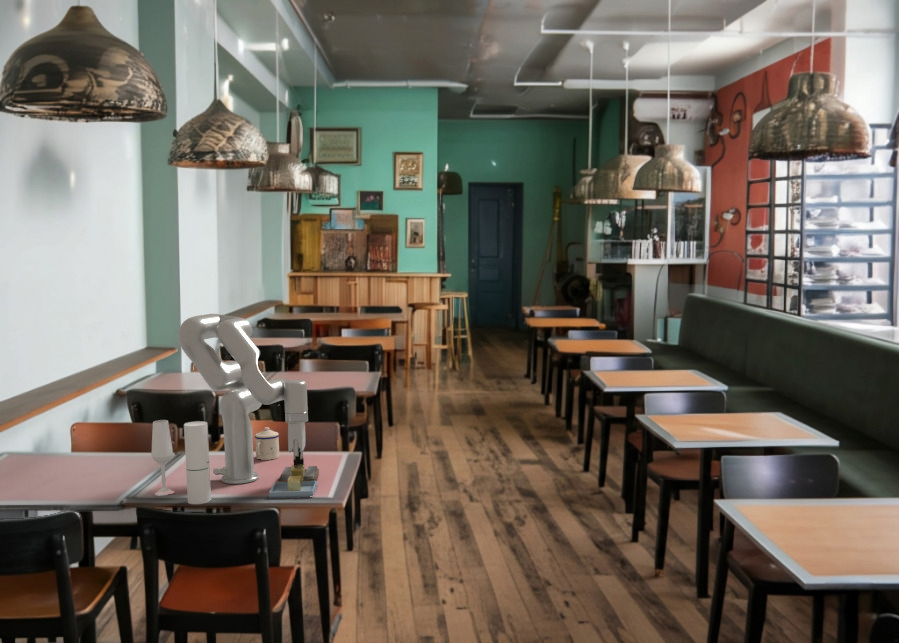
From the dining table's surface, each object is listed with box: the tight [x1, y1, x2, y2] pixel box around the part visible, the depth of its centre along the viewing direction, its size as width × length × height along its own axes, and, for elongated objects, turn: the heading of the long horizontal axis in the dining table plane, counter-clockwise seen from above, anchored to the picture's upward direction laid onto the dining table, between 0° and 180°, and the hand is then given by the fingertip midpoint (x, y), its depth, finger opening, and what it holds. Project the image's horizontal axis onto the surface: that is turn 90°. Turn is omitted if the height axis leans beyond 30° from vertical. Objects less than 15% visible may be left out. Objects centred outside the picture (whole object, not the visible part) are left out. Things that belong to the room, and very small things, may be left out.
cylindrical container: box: [183, 420, 212, 505], centre depth 272 cm, size 7×7×25 cm
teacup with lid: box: [254, 426, 280, 461], centre depth 325 cm, size 12×9×12 cm
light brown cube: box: [290, 463, 306, 480], centre depth 287 cm, size 4×4×4 cm
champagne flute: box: [151, 419, 174, 492], centre depth 282 cm, size 7×7×24 cm
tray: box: [268, 480, 318, 499], centre depth 280 cm, size 14×12×2 cm
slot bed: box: [277, 465, 320, 482], centre depth 293 cm, size 12×13×4 cm
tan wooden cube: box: [288, 476, 302, 491], centre depth 281 cm, size 4×4×4 cm
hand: (299, 470), depth 290 cm, fingers closed
